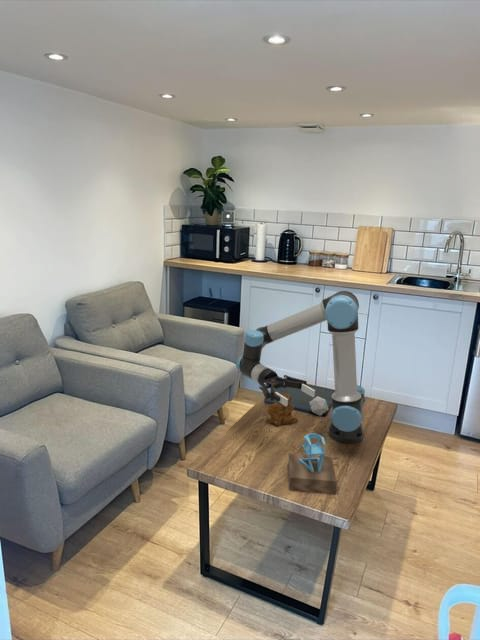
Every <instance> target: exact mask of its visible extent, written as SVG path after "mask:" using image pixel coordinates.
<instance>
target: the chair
mask: <svg viewBox="0 0 480 640" xmlns="http://www.w3.org/2000/svg"><path fill="white" fill-rule="evenodd" d="M303 438H304V444H302V448H303V449H304V452H305V455H307V458H304V459H299V462H300V463H301V464H302V465H304V466H305V467H306V468H307V469H309V470H310V471H311V472H312V473H314V468H313V466H312V463H311V461H314V460H317V470H318V472H321V465H322V461H323V458H324V456H326V454H327V453H326V451H325V447H326V442H325V437H324V436H322V435H320V434H318V433H314V432H312V433H308V434H306V435H304V436H303ZM311 439H317V440H316V443H312V442H311ZM320 440H321V444H322V445H321V444H320ZM314 455H315V456H320V460H319V458H310V456H314ZM304 461H309V464H310V466H309V465H308V464H306V463H305V462H304Z"/></svg>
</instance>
